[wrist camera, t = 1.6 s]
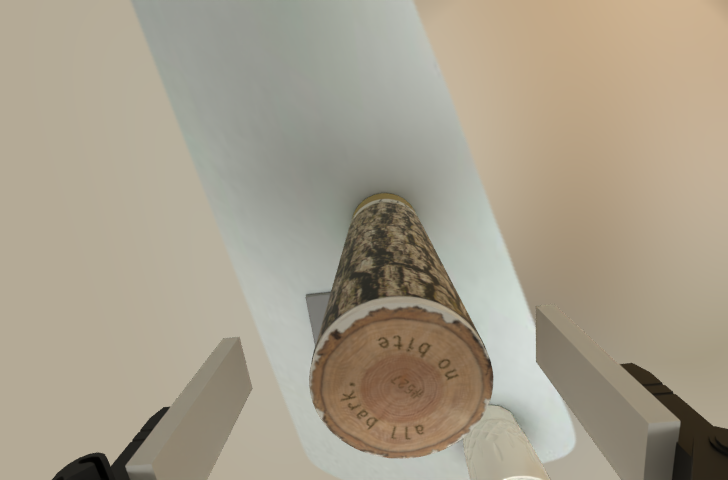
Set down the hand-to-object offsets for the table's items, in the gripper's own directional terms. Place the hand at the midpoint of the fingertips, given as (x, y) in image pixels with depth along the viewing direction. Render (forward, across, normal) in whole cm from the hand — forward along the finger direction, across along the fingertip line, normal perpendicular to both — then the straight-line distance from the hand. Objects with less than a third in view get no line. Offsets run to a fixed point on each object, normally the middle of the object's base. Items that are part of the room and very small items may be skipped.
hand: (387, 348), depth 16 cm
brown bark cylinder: (+22, 0, 0) cm, 23 cm away
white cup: (+23, +10, -26) cm, 36 cm away
